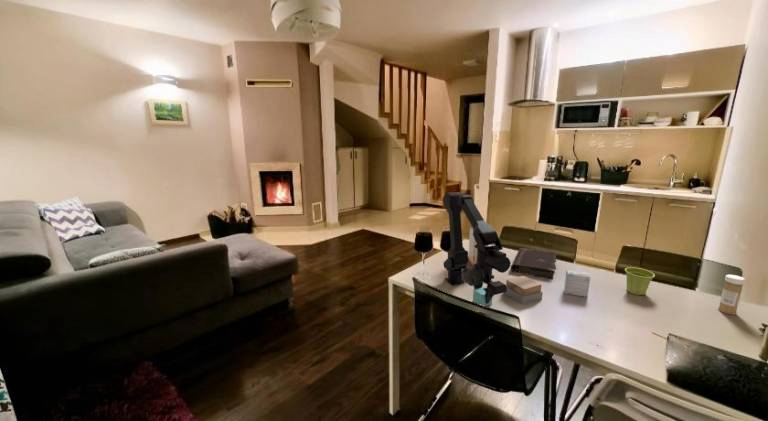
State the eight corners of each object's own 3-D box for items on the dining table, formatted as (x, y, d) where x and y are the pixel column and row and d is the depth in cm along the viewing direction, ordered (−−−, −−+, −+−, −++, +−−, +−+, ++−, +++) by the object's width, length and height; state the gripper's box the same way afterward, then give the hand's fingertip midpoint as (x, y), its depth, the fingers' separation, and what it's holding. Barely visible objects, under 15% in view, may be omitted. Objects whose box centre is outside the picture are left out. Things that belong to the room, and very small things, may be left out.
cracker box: (487, 270, 151) (490, 228, 147) (475, 270, 151) (477, 228, 147) (479, 259, 165) (481, 220, 160) (467, 259, 165) (469, 220, 160)
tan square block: (506, 286, 128) (506, 279, 128) (522, 282, 132) (523, 275, 131) (523, 296, 120) (524, 289, 120) (540, 291, 124) (541, 284, 123)
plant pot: (651, 291, 129) (655, 271, 127) (649, 300, 122) (653, 279, 120) (623, 284, 135) (626, 265, 133) (620, 292, 128) (623, 272, 126)
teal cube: (472, 301, 123) (473, 289, 122) (483, 298, 125) (483, 286, 124) (481, 307, 119) (482, 295, 118) (491, 304, 121) (492, 292, 120)
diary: (510, 273, 150) (510, 263, 149) (517, 255, 171) (518, 247, 170) (555, 280, 140) (556, 270, 139) (557, 261, 161) (558, 252, 160)
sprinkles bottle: (739, 314, 112) (748, 278, 109) (730, 315, 111) (739, 280, 108) (723, 307, 116) (731, 273, 113) (714, 309, 115) (722, 274, 112)
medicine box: (586, 292, 129) (588, 272, 127) (587, 297, 125) (590, 277, 123) (563, 289, 132) (566, 269, 130) (564, 293, 128) (567, 273, 126)
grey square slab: (503, 293, 130) (504, 285, 129) (522, 289, 133) (522, 281, 132) (522, 305, 121) (523, 296, 120) (541, 300, 124) (542, 291, 123)
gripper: (452, 257, 124) (450, 293, 127) (483, 275, 107) (481, 317, 111) (475, 252, 128) (473, 288, 131) (509, 270, 111) (506, 310, 115)
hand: (482, 300), depth 122 cm, fingers closed on teal cube, 5 cm apart
